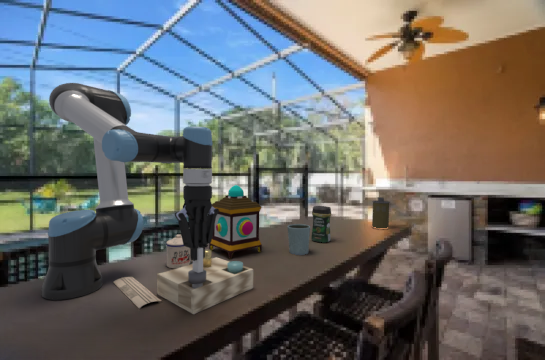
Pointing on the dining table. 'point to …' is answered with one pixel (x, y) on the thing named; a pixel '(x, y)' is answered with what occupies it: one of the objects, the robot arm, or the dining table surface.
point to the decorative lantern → (236, 223)
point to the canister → (380, 213)
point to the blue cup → (298, 238)
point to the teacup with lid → (177, 253)
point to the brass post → (207, 258)
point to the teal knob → (235, 267)
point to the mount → (211, 293)
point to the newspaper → (135, 291)
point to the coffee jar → (321, 224)
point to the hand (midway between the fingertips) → (197, 271)
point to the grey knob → (196, 278)
